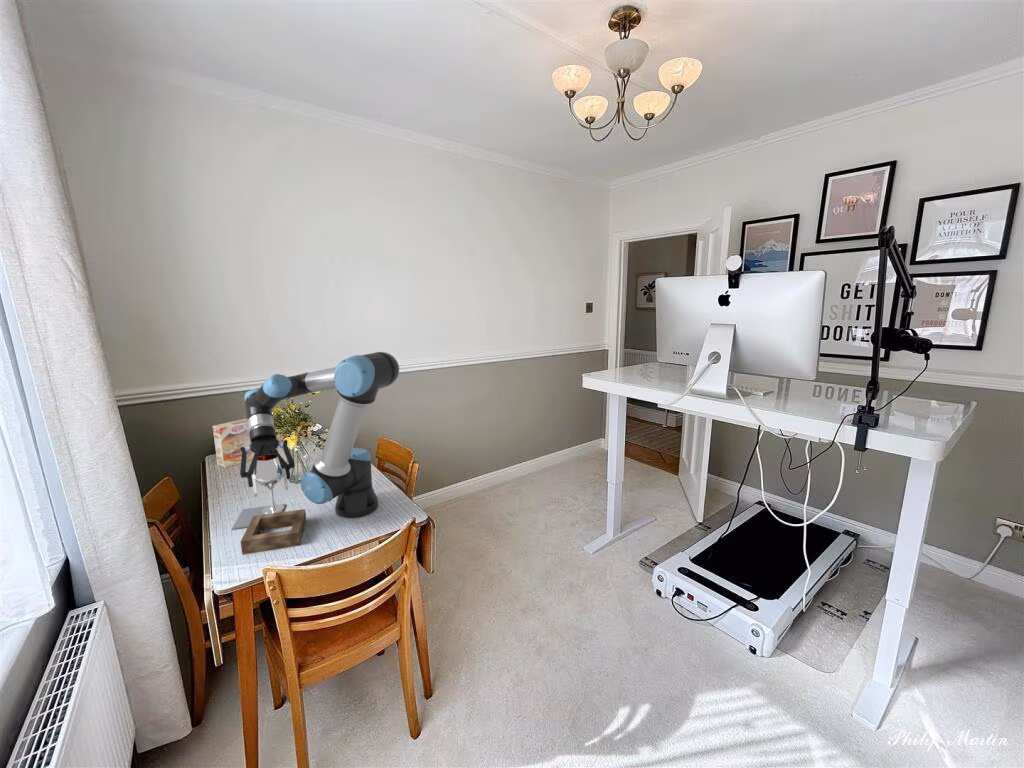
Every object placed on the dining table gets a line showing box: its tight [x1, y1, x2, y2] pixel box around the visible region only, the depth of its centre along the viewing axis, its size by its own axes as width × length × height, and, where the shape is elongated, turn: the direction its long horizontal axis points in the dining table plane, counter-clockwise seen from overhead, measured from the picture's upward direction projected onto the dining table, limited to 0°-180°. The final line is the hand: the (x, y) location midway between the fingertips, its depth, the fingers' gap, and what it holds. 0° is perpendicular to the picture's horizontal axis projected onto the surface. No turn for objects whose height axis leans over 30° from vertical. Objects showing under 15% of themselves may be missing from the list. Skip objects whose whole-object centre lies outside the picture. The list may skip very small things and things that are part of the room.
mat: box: [231, 503, 286, 531], centre depth 150 cm, size 14×14×1 cm
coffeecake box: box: [212, 418, 255, 469], centre depth 198 cm, size 15×7×20 cm, turn 149°
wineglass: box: [253, 454, 285, 514], centre depth 134 cm, size 8×8×18 cm
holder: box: [240, 508, 307, 555], centre depth 137 cm, size 16×16×4 cm
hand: (271, 491), depth 132 cm, fingers closed on wineglass, 8 cm apart
